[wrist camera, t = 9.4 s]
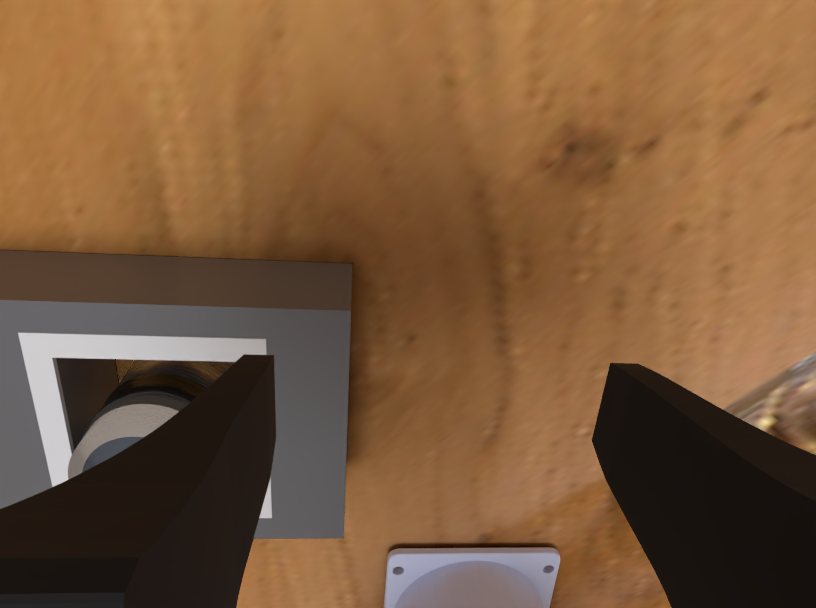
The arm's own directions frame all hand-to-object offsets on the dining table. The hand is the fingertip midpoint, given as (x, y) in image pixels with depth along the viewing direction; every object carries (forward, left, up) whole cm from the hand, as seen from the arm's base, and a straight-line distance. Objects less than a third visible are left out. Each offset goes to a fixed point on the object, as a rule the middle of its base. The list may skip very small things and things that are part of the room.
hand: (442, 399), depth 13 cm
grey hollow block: (-5, +8, -9) cm, 13 cm away
